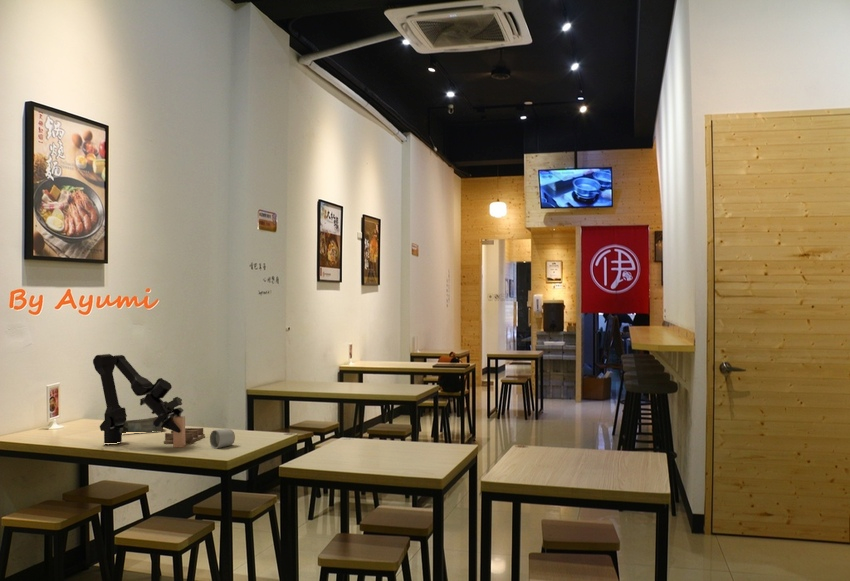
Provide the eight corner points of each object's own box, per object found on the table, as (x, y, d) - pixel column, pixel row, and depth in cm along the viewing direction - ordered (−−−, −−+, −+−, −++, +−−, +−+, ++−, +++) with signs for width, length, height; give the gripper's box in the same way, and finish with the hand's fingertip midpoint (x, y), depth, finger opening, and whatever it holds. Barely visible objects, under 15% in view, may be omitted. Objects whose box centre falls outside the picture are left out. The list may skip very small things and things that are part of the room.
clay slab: (173, 447, 293) (173, 417, 293) (176, 445, 296) (175, 416, 296) (182, 447, 293) (182, 417, 293) (185, 445, 296) (185, 416, 296)
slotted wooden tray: (163, 443, 301) (163, 434, 301) (179, 436, 317) (178, 427, 317) (190, 443, 300) (190, 434, 300) (204, 436, 316) (204, 427, 316)
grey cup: (236, 446, 293) (236, 427, 294) (219, 449, 287) (219, 430, 287) (221, 443, 300) (221, 425, 300) (205, 447, 293) (204, 428, 294)
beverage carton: (119, 433, 330) (119, 419, 330) (162, 429, 338) (162, 416, 338) (119, 435, 323) (119, 421, 323) (163, 432, 331) (163, 418, 331)
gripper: (160, 394, 286) (186, 421, 285) (178, 388, 304) (203, 413, 304) (141, 413, 286) (168, 440, 285) (161, 407, 305) (186, 432, 304)
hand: (182, 430), depth 294 cm, fingers open, 5 cm apart
